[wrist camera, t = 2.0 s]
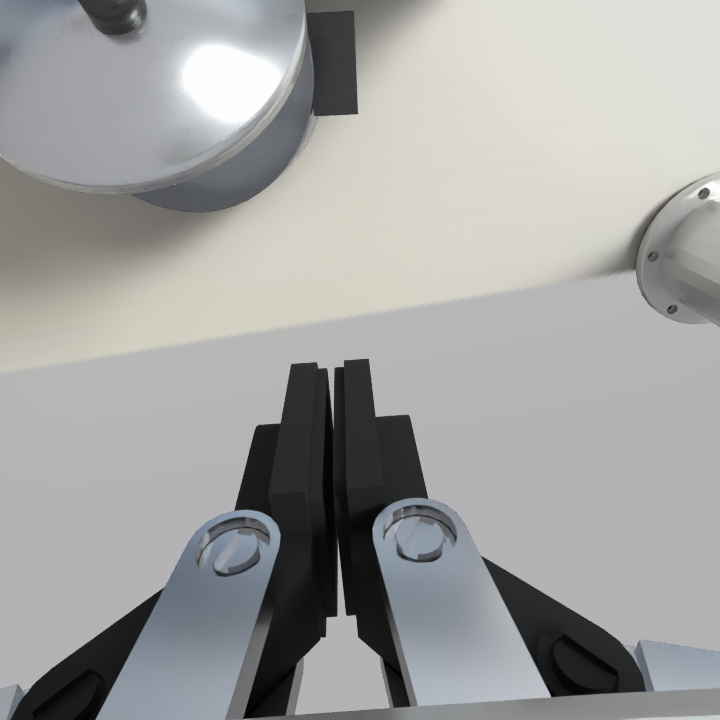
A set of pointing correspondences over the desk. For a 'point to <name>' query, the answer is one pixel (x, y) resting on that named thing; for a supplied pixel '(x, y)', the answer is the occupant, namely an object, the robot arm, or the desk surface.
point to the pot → (280, 123)
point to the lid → (141, 86)
